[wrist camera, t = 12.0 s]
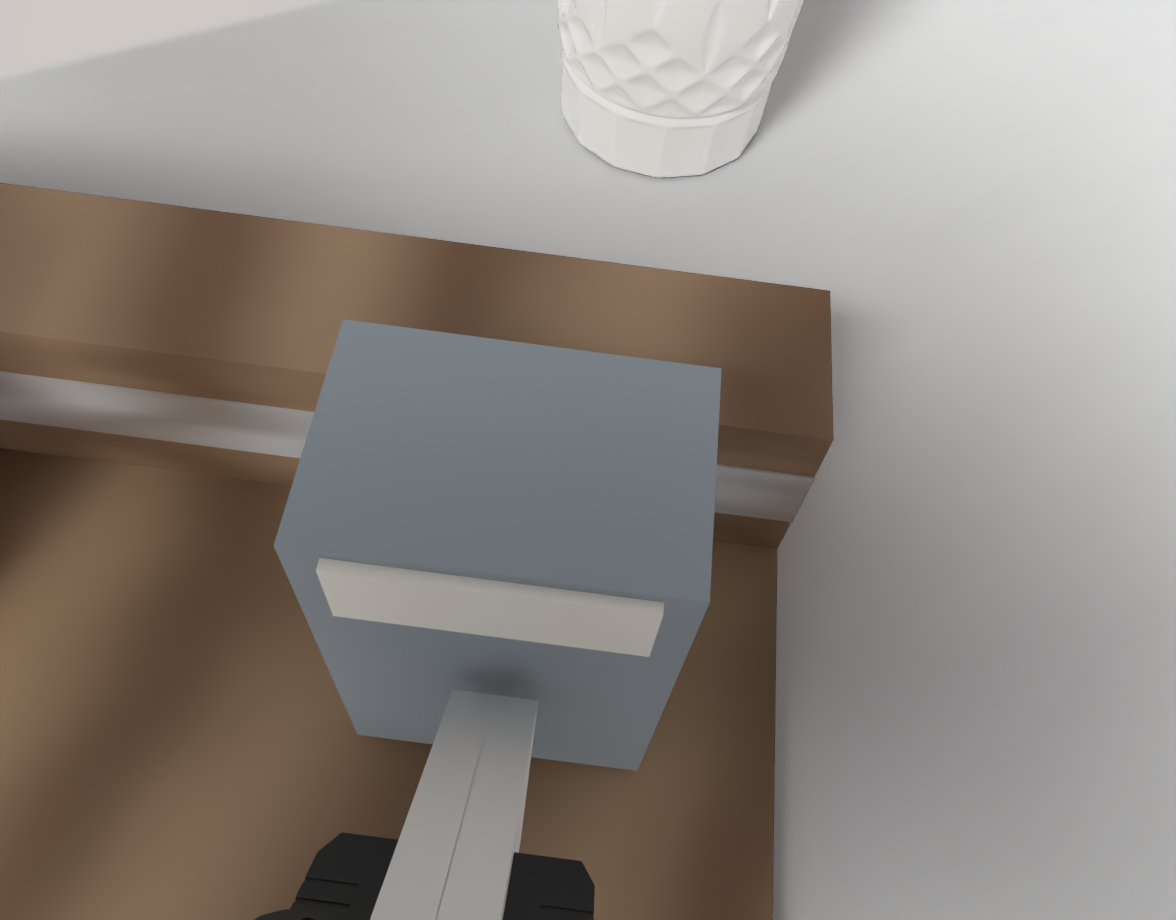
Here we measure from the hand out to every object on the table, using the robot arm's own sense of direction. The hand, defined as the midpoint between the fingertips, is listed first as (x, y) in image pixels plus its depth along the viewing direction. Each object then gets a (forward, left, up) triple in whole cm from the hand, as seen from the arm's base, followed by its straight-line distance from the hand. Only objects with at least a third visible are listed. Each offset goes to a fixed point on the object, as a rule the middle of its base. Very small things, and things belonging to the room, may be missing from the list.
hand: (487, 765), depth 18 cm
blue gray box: (0, +3, -4) cm, 5 cm away
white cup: (+2, +24, -5) cm, 24 cm away
